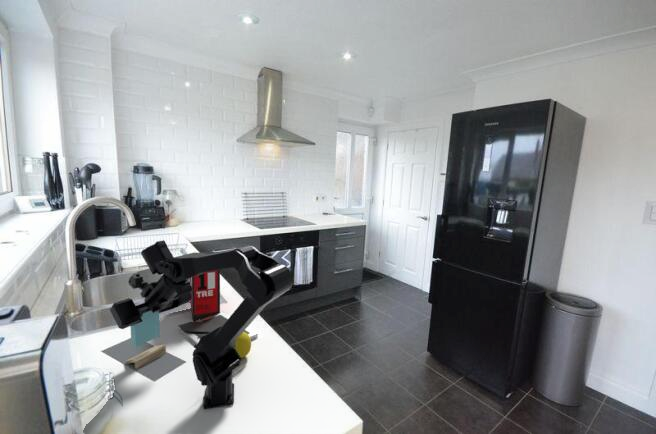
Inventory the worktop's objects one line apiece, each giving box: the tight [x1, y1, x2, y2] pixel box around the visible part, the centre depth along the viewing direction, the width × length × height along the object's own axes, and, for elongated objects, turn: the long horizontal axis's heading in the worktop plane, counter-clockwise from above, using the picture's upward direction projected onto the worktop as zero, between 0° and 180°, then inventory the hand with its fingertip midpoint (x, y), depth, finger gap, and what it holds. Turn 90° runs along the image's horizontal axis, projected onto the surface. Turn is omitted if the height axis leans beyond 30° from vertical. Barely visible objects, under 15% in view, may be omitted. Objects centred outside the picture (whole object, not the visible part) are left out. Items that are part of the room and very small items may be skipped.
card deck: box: [130, 311, 161, 347], centre depth 80 cm, size 2×7×10 cm, turn 153°
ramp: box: [126, 344, 167, 369], centre depth 81 cm, size 5×8×3 cm, turn 153°
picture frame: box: [177, 311, 259, 345], centre depth 95 cm, size 16×3×21 cm
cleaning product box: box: [188, 251, 221, 321], centre depth 111 cm, size 16×9×20 cm, turn 28°
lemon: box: [235, 332, 252, 359], centre depth 83 cm, size 6×6×8 cm
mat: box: [101, 337, 187, 382], centre depth 82 cm, size 24×9×1 cm, turn 63°
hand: (142, 317), depth 80 cm, fingers closed on card deck, 6 cm apart
